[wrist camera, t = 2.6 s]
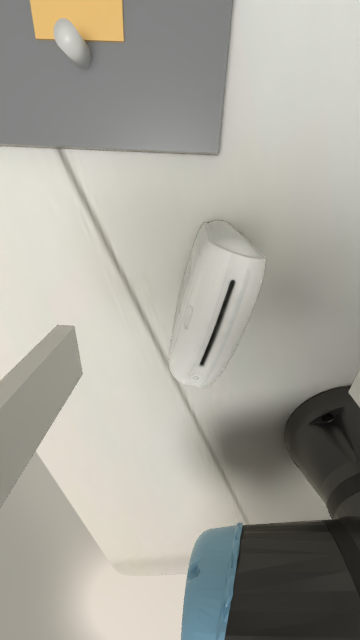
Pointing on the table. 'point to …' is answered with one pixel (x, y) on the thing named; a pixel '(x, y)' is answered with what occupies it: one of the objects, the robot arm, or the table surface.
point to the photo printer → (214, 303)
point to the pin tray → (114, 74)
